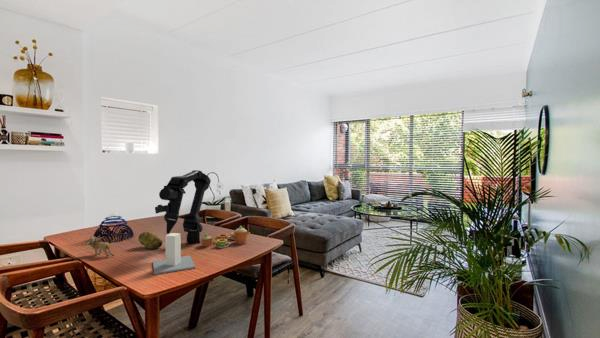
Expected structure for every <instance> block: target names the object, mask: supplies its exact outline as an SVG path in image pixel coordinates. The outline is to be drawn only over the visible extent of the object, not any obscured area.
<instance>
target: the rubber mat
mask: <svg viewBox="0 0 600 338" xmlns="http://www.w3.org/2000/svg"><path fill="white" fill-rule="evenodd" d="M152 263H153V275H154V276H155V275H160V274H161V273H162V274H167V272H169V273H174V271H175V272H180V270H181V271H185V270H186V271H187V270H192V269H193V270H194V269H196V266H195V263H194V261H193V259H192V257H191V255H183V256H181V262H180V263H179V264H177V265H175V266H173V265H166V258H163V259H161V258H160V259H156V260H152Z"/></svg>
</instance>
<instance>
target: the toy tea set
mask: <svg viewBox="0 0 600 338" xmlns="http://www.w3.org/2000/svg"><path fill="white" fill-rule="evenodd" d="M250 234H251V232H250V231H248V230H247V229H245V227H243V226H242V225H239V227H238V228H236V229H235V230H234V231H232V232H231V233H230V235H229V236H228V234H225V233H220V234H217V236H215V237H214V238H213V236H210V235H208V233H204V235H203V236H202V237H201V238H200V239H201V243H202V247H204V248H205V247H211V246H212V244H213V239H215V240H216V241H214V245H215V247H216V248H218V249H219V248H220V249H223V248H228V247H229V246H230V245H231V242H228V239H229V240H231V241H235V243H236V244H237V245H238V244H239V245H240V244H241V245H243V244H245V243H246V244H247V239H248V238H247V237H248V235H250Z"/></svg>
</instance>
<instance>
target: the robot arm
mask: <svg viewBox="0 0 600 338" xmlns="http://www.w3.org/2000/svg"><path fill="white" fill-rule="evenodd" d="M190 182H194V187H195V192H194V196H193V199H192V204H191V207H190V211H189V213H188V214H185V216H184V219H183V222H182V228H183V232H184V233H186V234H185V239H186V240H185V241H186V243H187V245H192V244H193V245H194V244H200V243H201V240H200V239H201V238H200V236H201V235H200V233H202V231H203V230H204V229H203V225H202V224H201V218H200V212H201V211H200V210H201V207H202V203H203V199H204V195H205V192H206V191H207V190H208V189H209V187H210V185H211V178H210V177H209V176H208V175H207V174H206V173H203V172H202V171H201V170H192V171H190V172H188V173H185V174H183V175H179V176H171V178H170V180H169V181H168V183H167V184H166V185H164V186H163V188H162V189H161V190H160V191H159V192H158V193H159V194H158V195H159V198H160V199H161V200H162V201H168V202H167V204H166V205H163V204H158V205H157V206H155V207H154V209H155V211H154V212H155V214H159V213H164V212H165V213H164V217H163V218H164V219H163V221H165V222H166V235H168V234H170V233H171V231H172V229H173V228H174V227H175V225H176V223H177V222H178V220H179V217H180V210H181V207H182V201H183V196H184V194H186V191H185V188H186V187H187V186H188V185H189V183H190Z"/></svg>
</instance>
